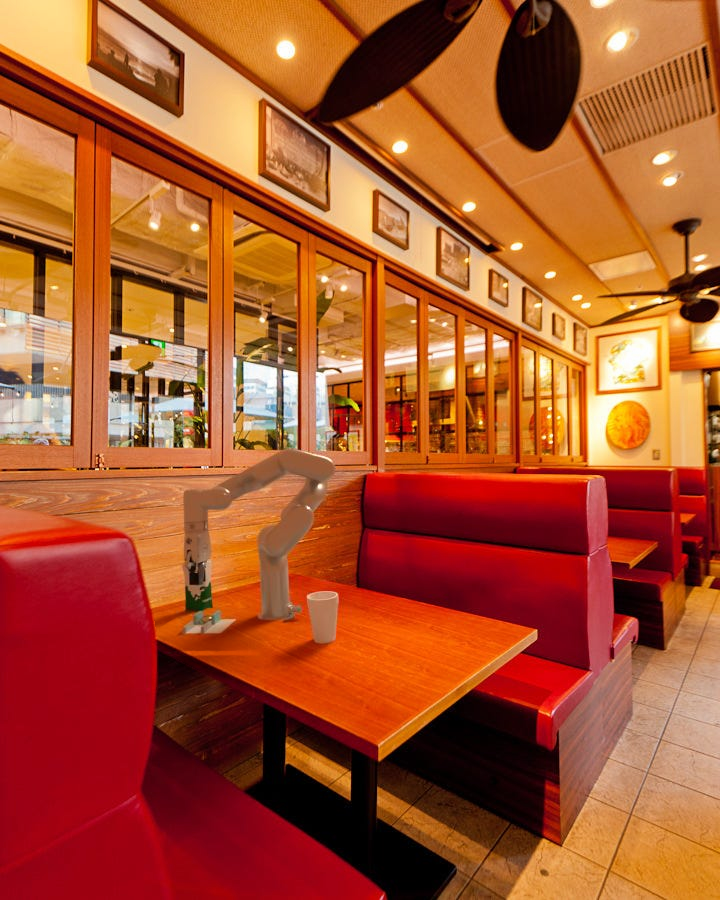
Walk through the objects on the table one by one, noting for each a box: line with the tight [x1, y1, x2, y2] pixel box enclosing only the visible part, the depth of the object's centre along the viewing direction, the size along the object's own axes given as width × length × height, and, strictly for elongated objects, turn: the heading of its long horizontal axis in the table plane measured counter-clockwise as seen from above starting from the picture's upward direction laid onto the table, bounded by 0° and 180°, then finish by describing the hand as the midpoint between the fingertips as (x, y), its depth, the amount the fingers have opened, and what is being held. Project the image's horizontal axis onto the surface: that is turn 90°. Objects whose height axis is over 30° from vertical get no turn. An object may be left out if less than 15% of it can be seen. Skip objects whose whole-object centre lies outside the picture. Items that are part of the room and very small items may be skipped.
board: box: [180, 610, 236, 635], centre depth 161 cm, size 13×13×4 cm
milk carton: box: [181, 560, 214, 612], centre depth 183 cm, size 9×9×20 cm
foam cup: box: [306, 590, 340, 644], centre depth 147 cm, size 10×9×13 cm
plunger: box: [201, 614, 212, 622], centre depth 166 cm, size 4×4×1 cm
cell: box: [193, 561, 205, 585], centre depth 161 cm, size 4×4×8 cm
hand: (197, 582), depth 161 cm, fingers closed on cell, 3 cm apart
